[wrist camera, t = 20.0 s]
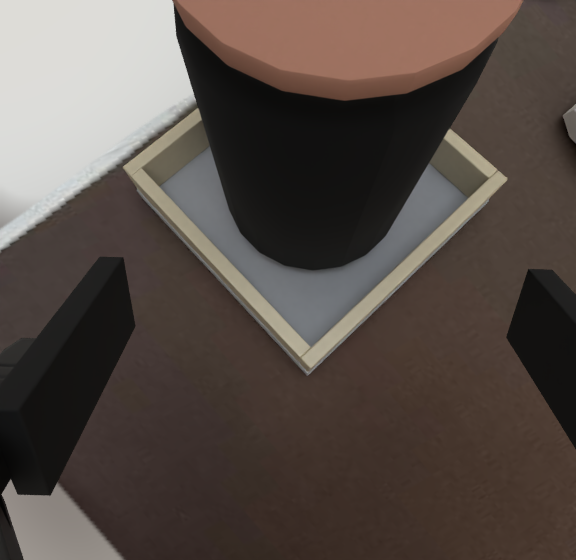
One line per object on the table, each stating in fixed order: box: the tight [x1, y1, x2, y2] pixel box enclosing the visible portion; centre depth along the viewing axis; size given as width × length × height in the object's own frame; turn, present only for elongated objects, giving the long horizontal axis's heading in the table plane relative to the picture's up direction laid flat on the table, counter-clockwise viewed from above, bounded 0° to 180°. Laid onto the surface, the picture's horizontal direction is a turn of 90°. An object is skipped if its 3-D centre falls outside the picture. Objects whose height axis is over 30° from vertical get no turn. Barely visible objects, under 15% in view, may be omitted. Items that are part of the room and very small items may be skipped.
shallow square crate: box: [123, 108, 507, 376], centre depth 29 cm, size 16×16×4 cm
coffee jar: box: [172, 0, 523, 270], centre depth 21 cm, size 11×11×18 cm
